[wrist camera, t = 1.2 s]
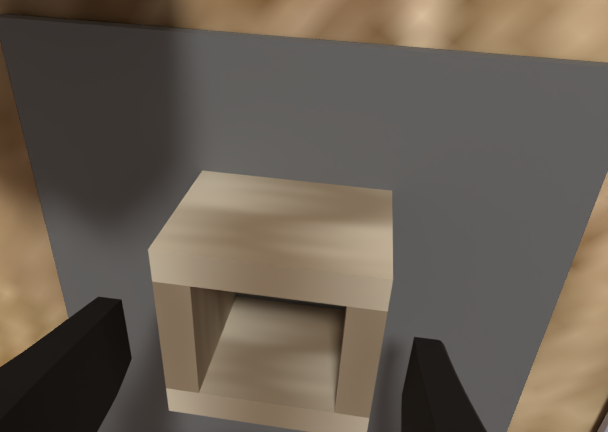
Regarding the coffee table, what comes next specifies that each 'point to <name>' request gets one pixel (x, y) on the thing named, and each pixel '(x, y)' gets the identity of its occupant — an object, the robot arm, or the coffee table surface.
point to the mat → (317, 180)
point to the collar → (271, 314)
